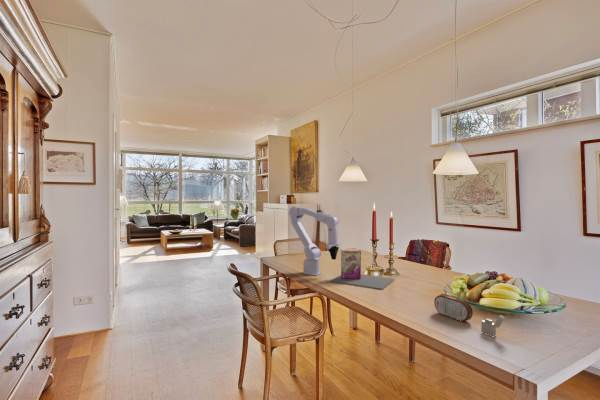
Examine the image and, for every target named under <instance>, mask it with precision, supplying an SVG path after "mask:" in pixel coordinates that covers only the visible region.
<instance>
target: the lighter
mask: <svg viewBox="0 0 600 400" xmlns="http://www.w3.org/2000/svg"><path fill="white" fill-rule="evenodd" d="M505 319H506V317H505V316H504V315H502V314H500V315H498V317H497V319H496V320H495V321H494V322H493V320H492V319H489V318H484V320H481V325H480V327H481V332H483V333H486V334H489V335H491V336H495V335H496V336H497V328H500V327H501V325H502V324H503V322H504V321H505ZM491 336H490V337H491Z"/></svg>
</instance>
